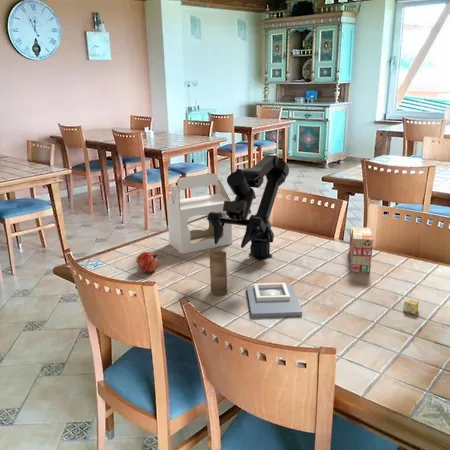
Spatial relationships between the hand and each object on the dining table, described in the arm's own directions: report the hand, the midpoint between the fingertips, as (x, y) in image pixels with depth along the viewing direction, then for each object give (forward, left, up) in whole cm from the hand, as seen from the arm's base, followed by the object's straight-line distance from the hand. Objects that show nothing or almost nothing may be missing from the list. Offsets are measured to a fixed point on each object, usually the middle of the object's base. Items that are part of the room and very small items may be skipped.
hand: (228, 245), depth 144 cm
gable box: (-12, -38, -13) cm, 42 cm away
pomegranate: (+17, -25, -13) cm, 33 cm away
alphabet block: (-31, +45, -13) cm, 56 cm away
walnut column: (+6, +4, -13) cm, 15 cm away
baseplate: (-3, +18, -13) cm, 23 cm away
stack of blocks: (-48, +12, -13) cm, 51 cm away
